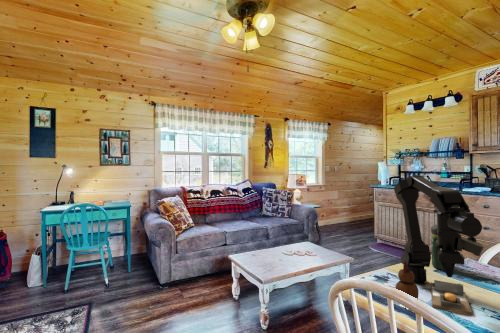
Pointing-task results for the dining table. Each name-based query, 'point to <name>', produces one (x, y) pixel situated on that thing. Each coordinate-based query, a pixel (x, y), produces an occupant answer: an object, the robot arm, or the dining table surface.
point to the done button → (450, 297)
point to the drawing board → (442, 303)
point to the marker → (448, 287)
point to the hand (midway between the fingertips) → (449, 276)
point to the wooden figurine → (407, 281)
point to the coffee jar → (434, 237)
